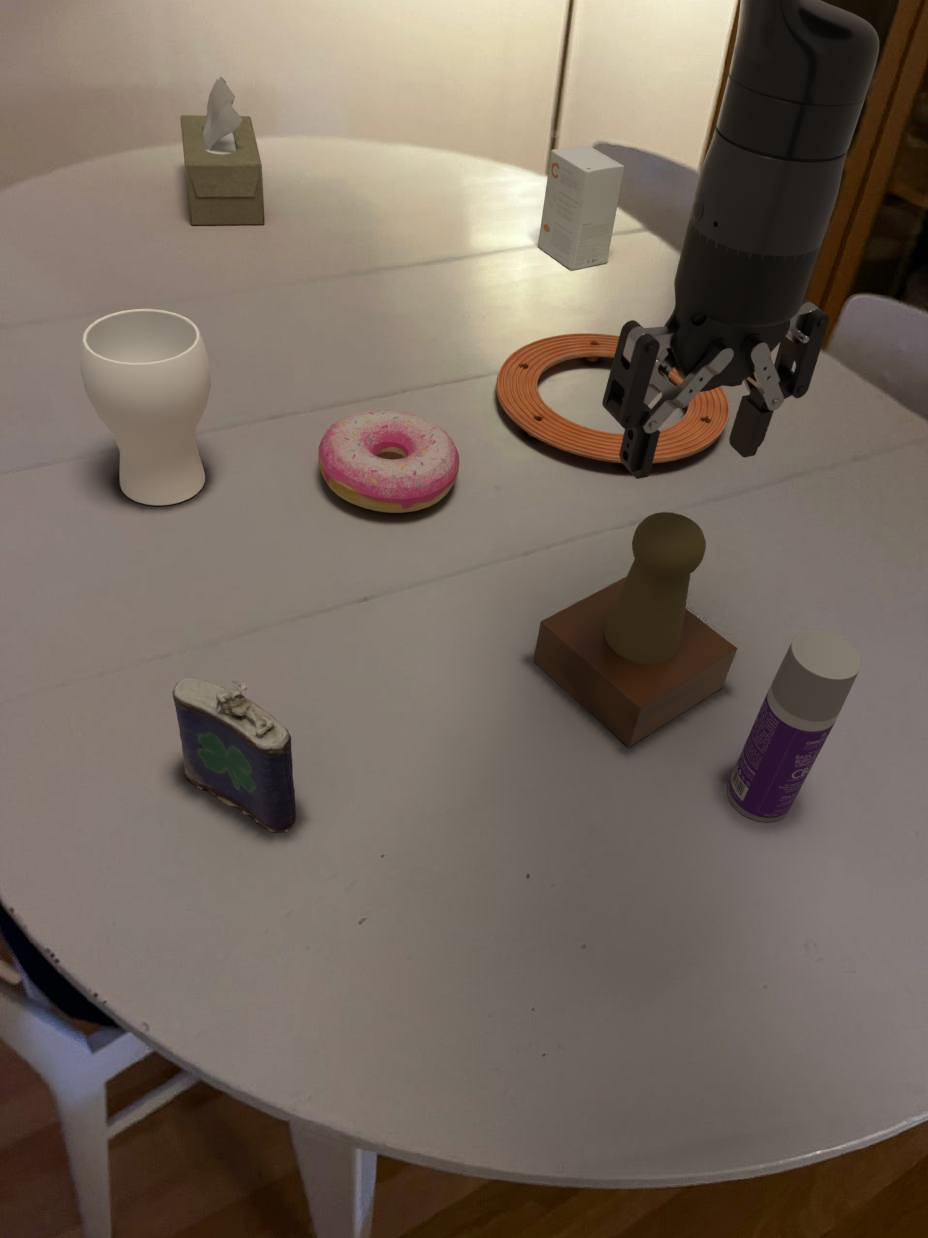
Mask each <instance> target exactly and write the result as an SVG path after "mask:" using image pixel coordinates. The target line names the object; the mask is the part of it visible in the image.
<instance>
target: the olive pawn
mask: <svg viewBox="0 0 928 1238" xmlns="http://www.w3.org/2000/svg"><path fill="white" fill-rule="evenodd" d="M706 548H707V541H706V538H705V534H704V532H703V530H702V528H701V527H700V526H699V524H698V523H697V522H695V521H694V520H693V519H691V518H689V517H687V516H686V515H683V514H679V513H675V512H667V511H662V512H660V511H659V512H654V513H652V514H650V515H648V516H646V517H645V518H644V519H643V520H641V522H640V523H639V524H638V525H637V527H636V528H635V530H634V533H633V535H632V540H631V550H632V554H633V558H634V559H633V562H632V563H631V566H630V568H629V570H628V572H627V574H626V576H625V577H626V579H625V581H624V583H623V586H622V588H621V590H620V592H619V594H618V597H617V599H616V601H615V603H614V606H613V608H612V610H611V612H610V614H609V617H608V619H607V621H606V624H605V627H604V636H605V639H606V641H607V643H608V644H609V646H610V647H611V648H612V649H613V650H614V651H615V652H616V653H617V654H619V655H620V656H622V657H624V658H626V659H628V660H630V661H634V662H637V663H641V664H657V663H662V662H665V661H667V660H669V659H671V658H673V657H674V656H675V655H676V653H677V652H678V651H679V647H680V642H681V636H682V629H683V622H684V615H685V608H686V609H687V601H688V593H689V586H690V580H691V574H693V573H694V572H695V571H696V570H697V568H698V567H699V566H700V565H701V563H702V562H703V560H704V557H705V553H706Z"/></svg>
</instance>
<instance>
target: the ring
mask: <svg viewBox="0 0 928 1238" xmlns="http://www.w3.org/2000/svg"><path fill="white" fill-rule="evenodd" d="M619 336H620V335H614V334H607V333H590V332H589V333H588V332H587V333H583V332H582V333H567V334H566V333H565V334H559V335H553V336H549V337H543V338H541V339H537V340H535V341H532V342H530V343H527V344H525V345H523V346H521V347H520V348H518V349H516V350H515V351H513V352H512V354H510V355H509V356H508V357H507V358H506V360H505V361H504V362H503V364H502V365H501V367H500V369H499V372H498V374H497V376H496V384H495V391H496V396H497V399H498V403H499V404H500V406H501V408H502V410H503V411H504V412H505V414H506V415H507V416H508V418H509V419H510V420H511V421H513V423H515V424H516V425H517V426H518V427H519V428H520V429H522V430H523V431H524V432H526V433H527V435H528V436H529V437H531V438H536V439H537V440H539V441H541V442H542V443H545V444H546V445H549V446H551V447H554V448H556V449H559V450H561V451H564V452H567V453H570V454H574V455H576V456H580V457H584V458H587V459H592V460H597V461H601V462H607V463H614V464H615V463H616V464H621V465H623V466H624V467H625V465H624V464H623V463H622V461H621V460H620V456H619V453H620V449H621V444H622V440H623V435H624V433H615V432H614V433H613V432H607V431H602V430H598V429H593V428H590V427H587V426H583V425H581V424H578V423H576V422H573V421H572V420H570V419H568V418H565V417H564V416H562V415H560V414H559V413H558V412H556V411H554V410H553V409H552V408H551V407H550V406H549V405H548V404H547V403H546V402H545V401H544V400H543V398H542V396H541V395H540V392H539V389H538V381H539V380H540V377H541V376H542V374H543V373H544V372H546V371H547V370H548V369H549V368H551V367H553V366H555V365H557V364H559V363H562V362H566V361H569V360H573V359H580V358H581V359H582V358H585V360H587V361H588V362H597V361H598V360H599V359H600V358H610V359H614V355H615V352H616V348H617V344H618V340H619ZM668 379H669V380H670V382H671V383H672V384H673V385H674V386H678V385H679V384H681V383H682V381H683V379H682V378H681V377H680V376H679V374H678V373H677V371H676V369H675V367H674V368H673V370H672V371H671V372H670V374H669V376H668ZM729 403H730V402H729V399H728V396H727V394H726V392H725V390H724V388H723V386H720V387H717V388H715V389H713V390H710V391H704V392H700V391H699V393H698V394H697V395H696V396H695V397H694V398H693V399H692V401H691V402H690V403H689V404H688V405H687V406H686V407H687V409H686V412H685V414H684V415H683V417H682V418H681V419H679V420H678V421H677V422H676V423H674V424H673V425H671V426H669V427H668V426H667V427H666V428H663V429H660V430H659V431H660V435H659V439H658V443H657V447H656V451H655V455H654V459H653V463H652V464H661V463H668V462H669V463H670V462H674V461H678V460H682V459H686V458H688V457H692V456H694V455H696V454H698V453H700V452H702V451H704V450H706V449H707V448H709V447H711V445H713V444H714V443H715V442H716V441H717V440H718V439H719V438H720V437H721V435H722V434H723V432H724V431H725V428H726V426H727V424H728V421H729V417H730V410H731V409H730V404H729Z"/></svg>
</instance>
